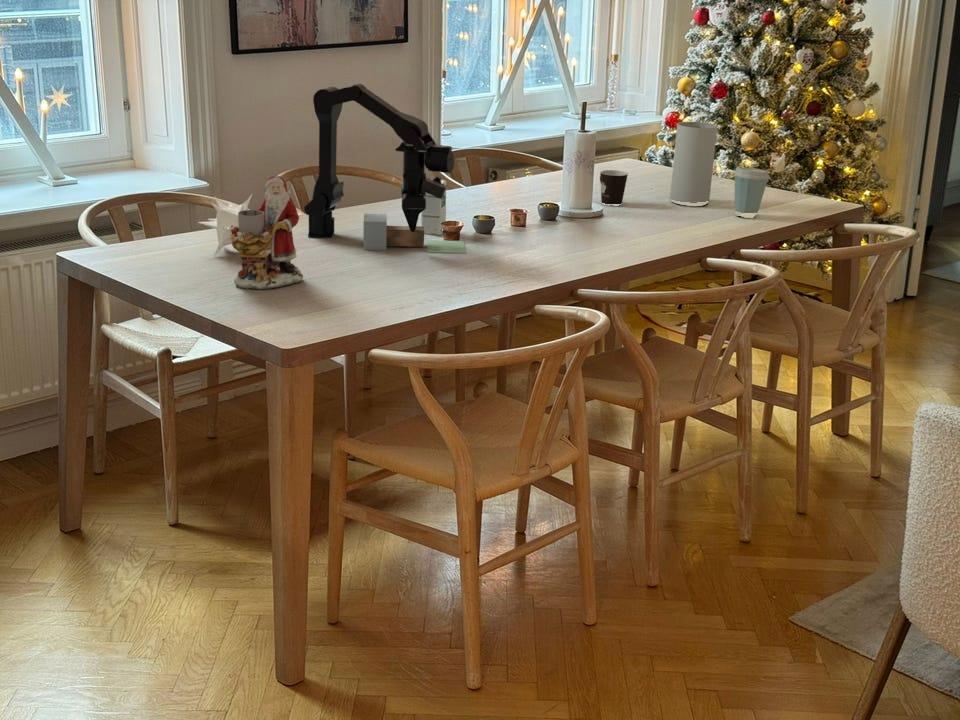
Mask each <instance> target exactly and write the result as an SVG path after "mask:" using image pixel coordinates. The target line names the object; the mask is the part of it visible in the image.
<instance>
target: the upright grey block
mask: <svg viewBox="0 0 960 720" xmlns="http://www.w3.org/2000/svg"><path fill="white" fill-rule="evenodd" d="M387 218H388V214H387V213H366V212H365V213H364V214H363V234H362V235H363V237H362V238H363V239H362V240H363V242H362V243H363V244H362V245H363V251H367V250H368V251H387V246H386V232H387V226H388V223H387V221H388V219H387Z"/></svg>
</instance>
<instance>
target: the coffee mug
mask: <svg viewBox="0 0 960 720" xmlns="http://www.w3.org/2000/svg"><path fill="white" fill-rule="evenodd" d="M628 175H629V174H628V172H627V171H623V170H616V169H614V170H612V169H605V170H602V171H600V175H599V182H600V196H601V197H600V200H601V202H602V203H605V204H621V203H622V204H623V200H624V196H625V189H626V184H627V181H628ZM601 202H600V203H601Z"/></svg>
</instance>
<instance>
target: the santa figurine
mask: <svg viewBox="0 0 960 720" xmlns="http://www.w3.org/2000/svg"><path fill="white" fill-rule="evenodd" d="M264 187H265V188H266V189H267V190H266V191H265V193H264V199H263V201H262V203H261V204H260V206H259V207H258V208H256V209H248V210H243V211H240V212H238V226H239V227H233V226H231V232H232V233H231V235H230V238H231V240H232V244H231V246H232V247H233V249H235V251H237V252H239V257H240V258H241V269H240V270H239V271H238V272H237V275H236V276H235V277H234V278H233V281H234V282H233V283H234V284H235V285H236V286H237V285H238V286H237V287H239V288H241V287H243V288H242V289H244V288H246V290H247V289H248V290H268V289H273V288H274V289H275V288H280V287H284V286H289V285H293V284H297V283H300V282H302V281H303V279H304V275H303V273H302V272H301V270H300V269H299V268H298V267H297V266H296V265H295V264H294V263H291V261H292V260H295V259H296V258H297V249H296V247H295V244H294V238H293V237H294V236H293V228H294V227H296V226H297V225H298V223H299V220H300V216H299V213H298V210H297V207H296V205H295V203H294V201H293V199H292V198H291V197H290V196H291V193H292V192H291V191H290V190H289V189H288V187H287V183H286V181H285V179H284V178H283V177H282V176H279V175H273V176H271V177H269V178H268V179H267V182H266V183H265V185H264ZM249 288H250V289H249ZM251 288H252V289H251Z"/></svg>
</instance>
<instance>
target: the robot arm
mask: <svg viewBox="0 0 960 720" xmlns="http://www.w3.org/2000/svg"><path fill="white" fill-rule="evenodd" d="M312 101H313V102H312V103H313V107H314V114H315V115H316V118H317V121H318V125H319V126H318V176H317V179H316V182H315V184H314V187H313V192H312V199H311V200H310V201H309V202H308V203H307V204H306V205H305V206H304V207H303V209H304V212H305V214H306V216H308V234H307V237H308V238H333V235H334V234H335V217H334V216H333V211H335V210H336V207H337V206H338V204H339V203H340V202H342V198H343V197H345V194H344V186H345V185H344V184H345V182H344V181H339V179H338V177H337V146H338V145H337V142H338V141H337V138H338V137H337V135H338V129H337V128H338V120H339V118H340V116H341V112H342V109H343V104H345V103H348V102H352V101H353V102H355V103H357V104H358V105H360V106H361V107H362V108H364V109H366V110H367V111H368V112H370V113H371V114H373V115H375V116H376V117H377V118H378V119H380V120H381V121H382V122H384V123H386V124H387V125H388V126H390V127H391V129H392V130H393V131H394V133H395V135H396V136H398V137H399V139H400V140H402V142H401V143H400V144H399V145H398V146H397V147H396V148H395V151H396V152H401V153H402V152H403V153H402V154H403V155H402V156H403V157H402V160H403V161H402V185H401V209H402V212H403V215H404V217H405V220H406V222H407V226H409V228H410V231H411V232H415V229H416V226H417V224H418V220H419V217H420V214H421V212H422V211H424V210H425V208H426V198H425V197H424V196H423V195H426V193H428V194H431V195H433V196H436V197H437V198H439V199H442V197H443V195H444V192H445V190H446V191H447V184H446V185H444V184H442V183H441V180H442V179H441V177H439V176H437V175H435V176H434V177H432V178H428V177H427V174H426V169H427V170H428V171H429V172H437V173H444V174H445V173H447V174H451V173H452V172H453V170H454V167H455V166H454V165H455V156H454V152H453V150H452V149H453V148H452V146H450V145H445V146H444V145H443V146H442V145H437V143H436V142H435V140H434V138H433V137H432V135H431V134H430V132H429V127H428V124H427V123H426V122H425V121H424V120H422V119H420V118H418V117H415V116H414V115H411V114H409V113H405V112H402V111H400V110H399V109H397V108H396V107H394V106H393V105H391V104H390V103H389V102H387V101H385V100H384V99H383V98H382V97H380V96H378V95H377V94H375V92H373V91H371V90H370V89H368V88H367V87H366V86H365V85H364V84H362V83H356V84H353V85H350V86H345V87H342V88H338V87H335V86H328V87H324V88H321V89H318V90H317V91H316V92H315V93H314V94H313V99H312Z"/></svg>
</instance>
